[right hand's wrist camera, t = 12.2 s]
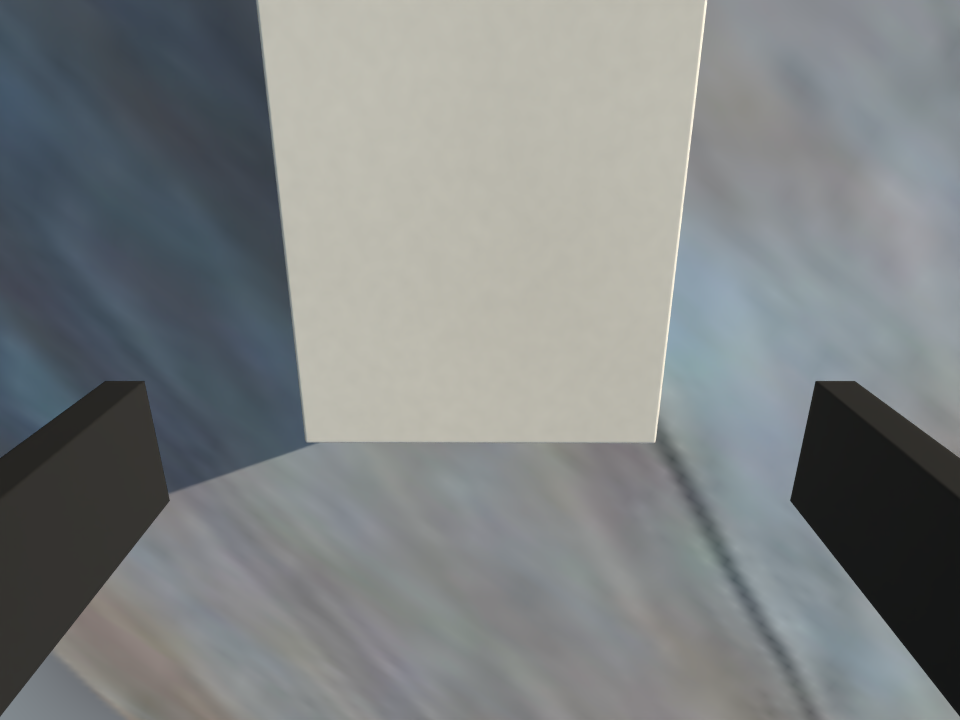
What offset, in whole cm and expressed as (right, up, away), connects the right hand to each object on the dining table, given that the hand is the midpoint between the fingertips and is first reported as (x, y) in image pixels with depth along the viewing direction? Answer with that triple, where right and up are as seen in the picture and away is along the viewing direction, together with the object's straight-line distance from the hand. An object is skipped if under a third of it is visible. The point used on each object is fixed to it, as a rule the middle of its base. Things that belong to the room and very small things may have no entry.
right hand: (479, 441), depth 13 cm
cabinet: (0, +12, +10) cm, 16 cm away
